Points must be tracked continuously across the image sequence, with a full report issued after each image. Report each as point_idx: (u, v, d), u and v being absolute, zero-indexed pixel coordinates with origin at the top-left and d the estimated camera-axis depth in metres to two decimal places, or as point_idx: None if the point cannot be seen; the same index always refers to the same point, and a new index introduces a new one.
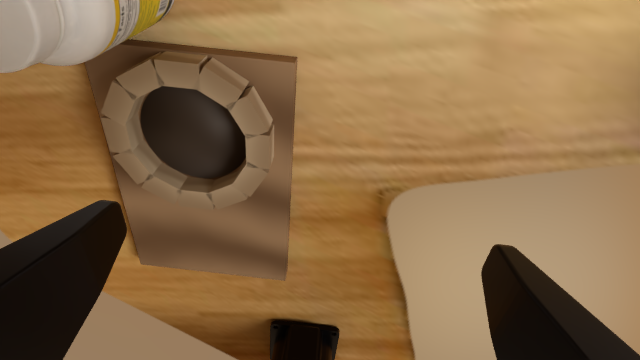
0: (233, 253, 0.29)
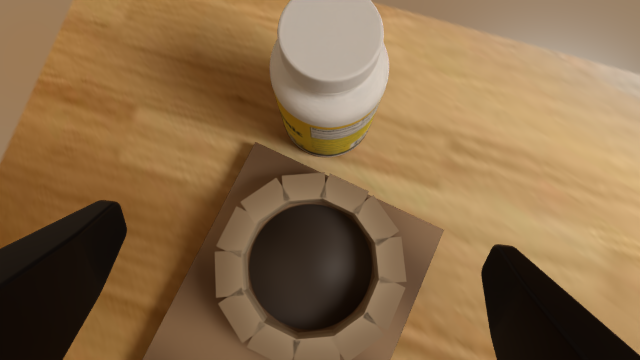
0: None
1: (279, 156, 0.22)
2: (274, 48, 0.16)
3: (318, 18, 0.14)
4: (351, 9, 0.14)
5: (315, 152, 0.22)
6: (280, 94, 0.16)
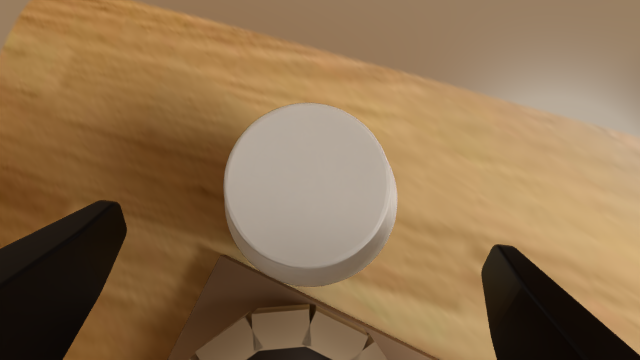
0: None
1: (251, 275, 0.17)
2: None
3: (288, 161, 0.09)
4: (339, 146, 0.09)
5: None
6: (238, 245, 0.11)
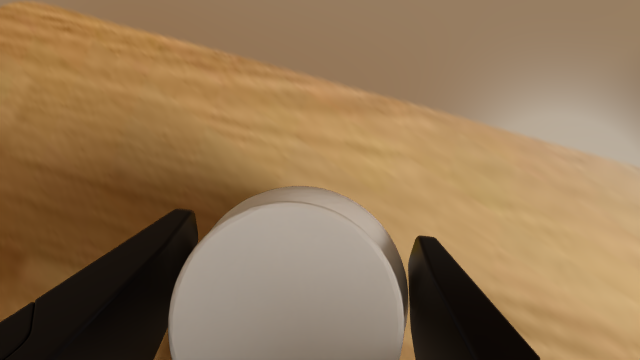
0: None
1: None
2: None
3: (259, 289, 0.06)
4: (331, 266, 0.06)
5: None
6: None
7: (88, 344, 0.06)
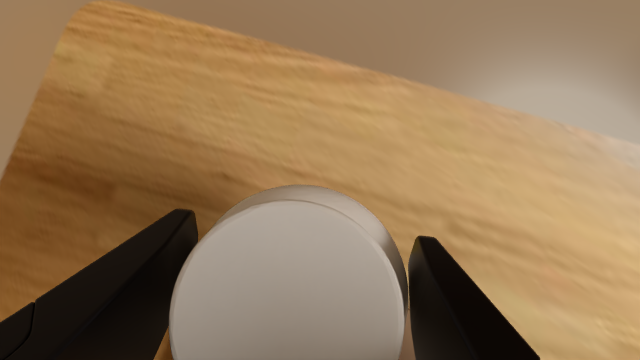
0: None
1: None
2: None
3: (259, 287, 0.06)
4: (331, 264, 0.06)
5: None
6: None
7: (88, 344, 0.06)
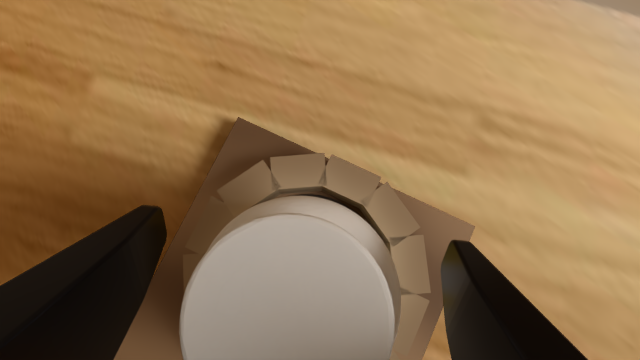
0: None
1: (268, 134, 0.18)
2: None
3: (262, 294, 0.07)
4: (328, 273, 0.07)
5: None
6: None
7: (37, 338, 0.06)
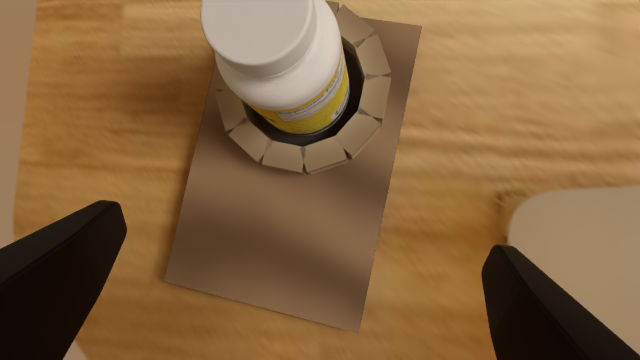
0: (296, 271, 0.22)
1: None
2: None
3: None
4: None
5: (299, 133, 0.21)
6: (232, 87, 0.15)
7: None
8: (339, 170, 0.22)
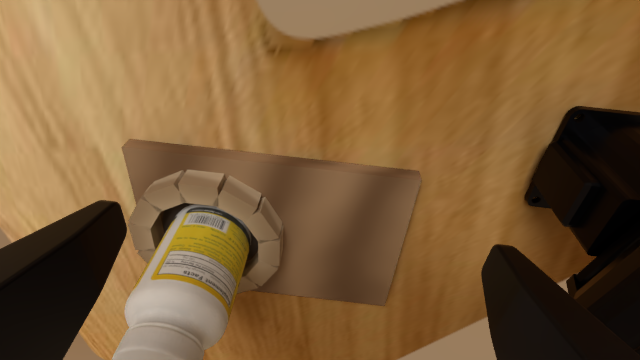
0: (368, 227, 0.25)
1: None
2: None
3: None
4: None
5: (247, 243, 0.24)
6: None
7: None
8: (274, 202, 0.24)
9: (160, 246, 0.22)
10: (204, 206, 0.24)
